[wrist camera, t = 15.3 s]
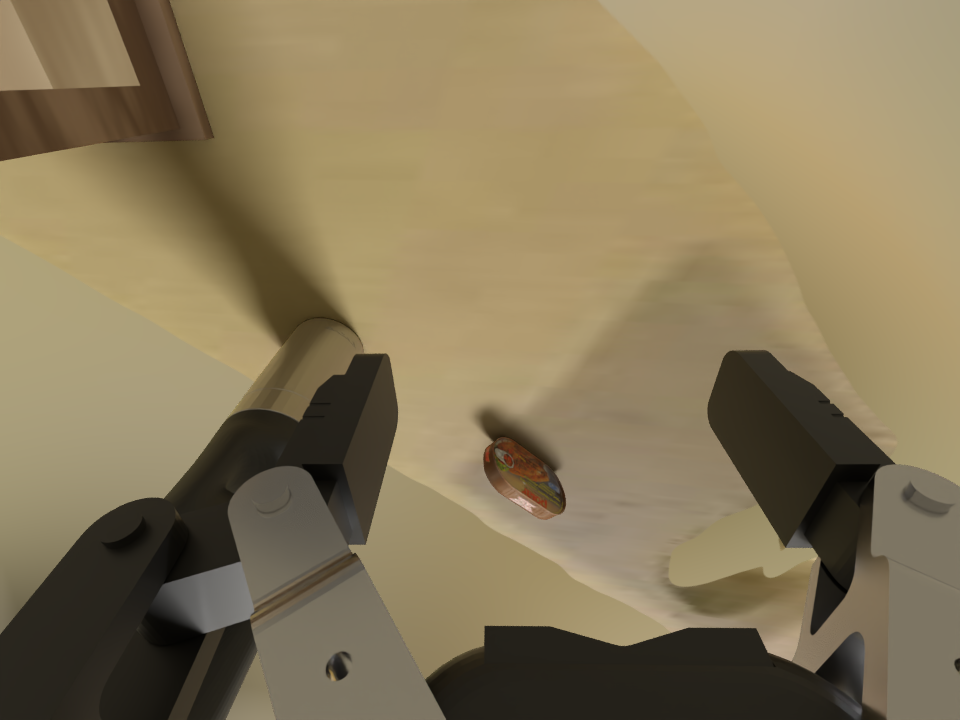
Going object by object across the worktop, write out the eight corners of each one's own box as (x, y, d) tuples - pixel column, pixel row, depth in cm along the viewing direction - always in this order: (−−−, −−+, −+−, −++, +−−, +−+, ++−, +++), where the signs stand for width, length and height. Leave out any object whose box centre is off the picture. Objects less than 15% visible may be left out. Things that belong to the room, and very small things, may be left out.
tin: (563, 476, 68) (571, 523, 61) (548, 486, 69) (554, 533, 62) (495, 425, 62) (495, 470, 55) (480, 437, 64) (478, 482, 57)
